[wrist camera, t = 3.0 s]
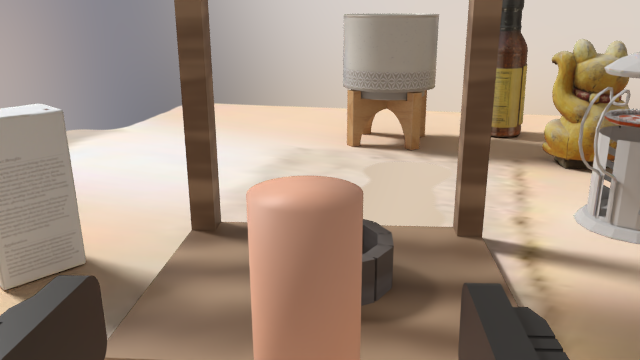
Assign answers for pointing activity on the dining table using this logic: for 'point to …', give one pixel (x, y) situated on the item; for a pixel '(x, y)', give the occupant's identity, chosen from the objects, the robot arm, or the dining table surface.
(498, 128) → the sauce bottle
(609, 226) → the french press
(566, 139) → the decorative figurine
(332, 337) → the peg
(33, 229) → the skincare box
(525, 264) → the dining table surface
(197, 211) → the slanted top stand
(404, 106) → the planter
